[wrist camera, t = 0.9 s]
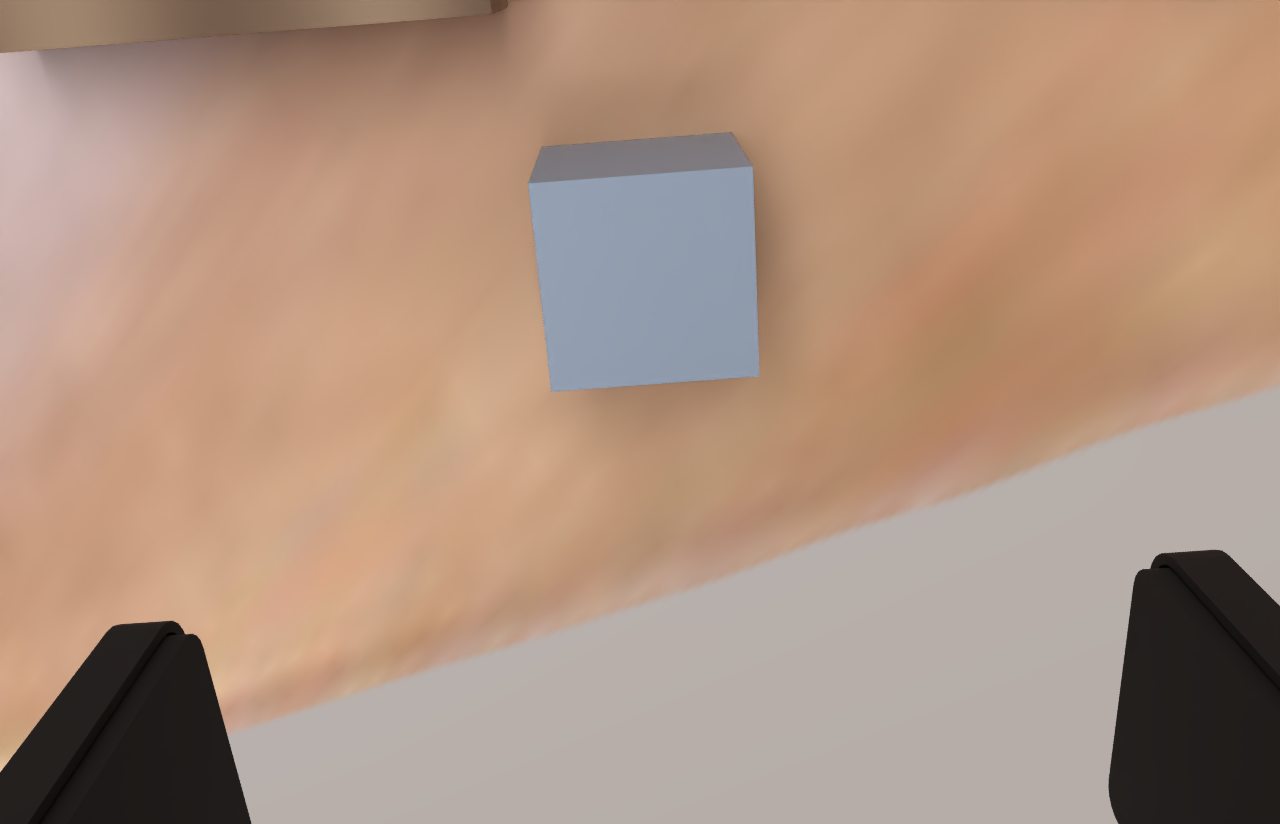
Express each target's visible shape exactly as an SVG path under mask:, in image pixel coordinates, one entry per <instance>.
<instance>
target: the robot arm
mask: <svg viewBox="0 0 1280 824" xmlns="http://www.w3.org/2000/svg"><path fill="white" fill-rule="evenodd" d="M1109 797H1110V801H1111V806H1112V809H1113V812H1114V815H1115V817H1116V820H1117V822H1118V823H1119V824H1280V606H1279V605H1278V604H1277V603H1276V602H1275V601H1274V600H1273V599H1272V598H1271V597H1270V596H1269V595H1268V594H1267V593H1266V592H1265V591H1264V590H1263V589H1262V588H1261V587H1260V586H1259V585H1258V584H1257V583H1256V582H1255V581H1254V580H1253V579H1252V578H1251V577H1250V576H1249V575H1248V574H1247V573H1246V572H1245V571H1244V570H1243V569H1242V568H1241V567H1240V566H1239V565H1238V564H1237V563H1236V562H1235V561H1234V560H1233V559H1232V558H1231V557H1230V556H1229V555H1227V554H1226V553H1225V552H1223V551H1220V550H1205V551H1192V552H1191V551H1190V552H1177V553H1176V552H1175V553H1161V554H1159V555H1158V556H1156V557H1155V559H1154V560H1153V562H1152V565H1151V568H1150V569H1142V570H1140V571H1139V572H1138V573H1137V575H1136V577H1135V581H1134V586H1133V593H1132V601H1131V609H1130V617H1129V625H1128V632H1127V641H1126V648H1125V656H1124V664H1123V672H1122V680H1121V687H1120V696H1119V703H1118V711H1117V719H1116V727H1115V735H1114V744H1113V751H1112V758H1111V766H1110V774H1109ZM0 824H251V820H250V817H249V813H248V809H247V806H246V802H245V798H244V795H243V791H242V787H241V784H240V780H239V777H238V773H237V769H236V766H235V762H234V758H233V755H232V751H231V747H230V744H229V740H228V736H227V733H226V729H225V725H224V722H223V718H222V714H221V711H220V707H219V703H218V700H217V696H216V692H215V689H214V685H213V681H212V678H211V674H210V670H209V667H208V663H207V660H206V656H205V652H204V649H203V646H202V643H201V641H200V639H199V638H198V637H197V636H196V635H194V634H185V633H184V631H183V629H182V628H181V626H180V625H179V624H178V623H176V622H174V621H163V622H148V623H133V624H120V625H116V626H113V627H112V628H111V629H109V630H108V631H107V632H106V634H105V635H104V636H103V638H102V639H101V640H100V642H99V643H98V644H97V646H96V647H95V648H94V650H93V651H92V652H91V653H90V655H89V656H88V657H87V659H86V660H85V661H84V663H83V664H82V665H81V667H80V668H79V669H78V671H77V672H76V673H75V675H74V676H73V677H72V679H71V680H70V681H69V683H68V684H67V685H66V686H65V688H64V689H63V690H62V692H61V693H60V694H59V696H58V697H57V698H56V700H55V701H54V702H53V704H52V705H51V706H50V708H49V709H48V710H47V712H46V713H45V714H44V716H43V717H42V718H41V720H40V721H39V722H38V723H37V725H36V726H35V727H34V729H33V730H32V731H31V733H30V734H29V735H28V737H27V738H26V739H25V741H24V742H23V743H22V745H21V746H20V747H19V749H18V750H17V751H16V753H15V754H14V755H13V756H12V758H11V759H10V760H9V762H8V763H7V764H6V766H5V767H4V768H3V770H2V771H1V772H0Z"/></svg>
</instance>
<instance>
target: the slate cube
mask: <svg viewBox="0 0 1280 824" xmlns="http://www.w3.org/2000/svg"><path fill="white" fill-rule="evenodd" d="M528 187H529V196H530V205H531V214H532V223H533V232H534V241H535V250H536V259H537V267H538V276H539V285H540V294H541V303H542V312H543V321H544V330H545V339H546V348H547V357H548V366H549V374H550V383H551V392H556V391H570V390H583V389H597V388H610V387H623V386H637V385H650V384H664V383H677V382H690V381H704V380H717V379H731V378H744V377H757V376H759V348H758V315H757V283H756V250H755V217H754V185H753V166H752V164H751V163H750V161H749V159H748V158H747V156H746V155H745V153H744V152H743V150H742V149H741V147H740V145H739V144H738V142H737V141H736V139H735V138H734V136H733V135H732V133H731V132H729V133H716V134H703V135H690V136H677V137H664V138H651V139H638V140H625V141H611V142H598V143H585V144H572V145H559V146H546V147H542V148H541V151H540V153H539V156H538V159H537V161H536V164H535V167H534V169H533V172H532V174H531V177H530V180H529V182H528Z"/></svg>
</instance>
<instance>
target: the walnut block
mask: <svg viewBox="0 0 1280 824" xmlns="http://www.w3.org/2000/svg"><path fill="white" fill-rule="evenodd" d="M506 7H507V0H0V53H6V52H19V51H32V50H45V49H57V48H70V47H83V46H95V45H108V44H121V43H134V42H146V41H159V40H172V39H185V38H197V37H210V36H223V35H235V34H248V33H261V32H274V31H286V30H299V29H312V28H324V27H337V26H350V25H363V24H375V23H388V22H401V21H413V20H426V19H439V18H452V17H464V16H477V15H490V14H494V13H496V12H498V11H500V10H502V9H504V8H506Z"/></svg>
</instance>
